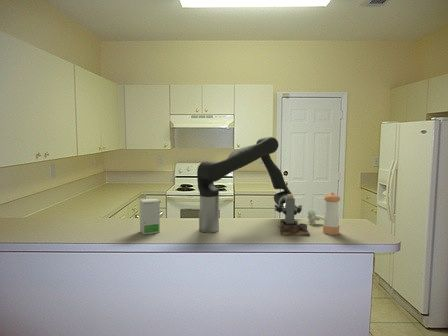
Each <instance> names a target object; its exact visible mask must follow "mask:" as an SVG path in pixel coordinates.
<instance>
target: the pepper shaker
mask: <svg viewBox="0 0 448 336" xmlns="http://www.w3.org/2000/svg"><path fill="white" fill-rule="evenodd" d="M324 201H325V212H324V215H323V216H324V220H323V224H322V233H323V234H326V235H329V236H335V235H339V234H340V225H339V222H340V220H339V219H340V217H339V202H340V201H341V197H340V195H338V194H335V193H334V192H330V193H328V194H326V195H325V196H324Z"/></svg>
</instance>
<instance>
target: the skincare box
mask: <svg viewBox="0 0 448 336" xmlns="http://www.w3.org/2000/svg"><path fill="white" fill-rule="evenodd" d="M160 212H161V211H160V200H159V199H158V198H145V199H144V198H143V199H139V231H140V232H141V233H142V234H143V235H144V236H145V235H151V234H159V233H160V232H161V229H160V228H161V226H160V225H161V224H160V223H161V222H160V217H161V216H160V214H161V213H160Z"/></svg>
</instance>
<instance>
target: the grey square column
mask: <svg viewBox="0 0 448 336" xmlns="http://www.w3.org/2000/svg"><path fill="white" fill-rule="evenodd" d="M295 202H296V198H295V197H294V194H293V193H292V194H287V197H285V209H286V215H285V214H284V221H285V225H294V221H295V215H294V210H295V205H296V203H295Z"/></svg>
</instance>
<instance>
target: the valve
mask: <svg viewBox="0 0 448 336" xmlns="http://www.w3.org/2000/svg"><path fill="white" fill-rule="evenodd" d="M316 214H317V211H315V210H308V212H307V224H308V223H309V225H313V224H314V225H315V224H316V221H321V220H323V221H324V216H325V215H322V216H321V215H319V214H317V215H316Z"/></svg>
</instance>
